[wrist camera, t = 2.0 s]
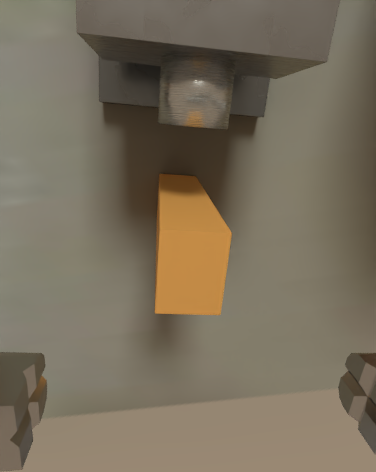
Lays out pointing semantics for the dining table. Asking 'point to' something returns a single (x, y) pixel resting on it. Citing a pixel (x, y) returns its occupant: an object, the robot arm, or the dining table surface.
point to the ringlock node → (202, 52)
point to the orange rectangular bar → (189, 249)
